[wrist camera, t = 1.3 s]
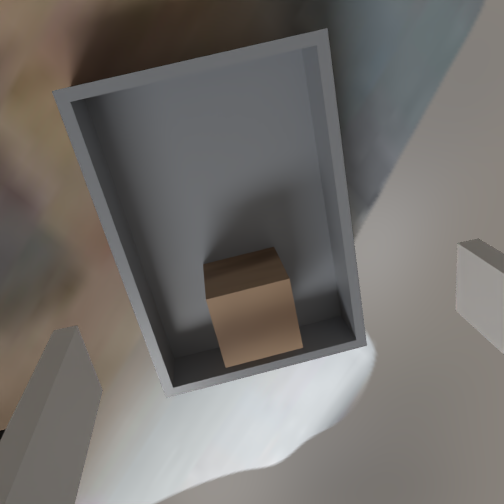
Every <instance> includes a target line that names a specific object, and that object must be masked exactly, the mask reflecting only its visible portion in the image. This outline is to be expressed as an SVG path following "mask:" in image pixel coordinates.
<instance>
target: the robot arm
mask: <svg viewBox="0 0 504 504" xmlns="http://www.w3.org/2000/svg"><path fill="white" fill-rule="evenodd" d="M456 311H457V312H458V313H459V314H460V315H461V316H462V317H463V318H464V319H466V320H467V321H468V322H469V323H470V324H471V325H472V326H473V327H474V328H475V329H476V330H478V331H479V332H480V333H481V334H482V335H483V336H484V337H485V338H486V339H487V340H489V341H490V342H491V343H492V344H493V345H494V346H495V347H496V348H497V349H499V351H501V352H502V353H503V354H504V254H503V253H502V252H500V251H498V250H497V249H495V248H493V247H492V246H490V245H488V244H487V243H485V242H483V241H482V240H480V239H474V240H469V241H466V242H460V243H458V245H457V277H456ZM102 391H103V390H102V387H101V385H100V382H99V379H98V377H97V374H96V372H95V369H94V367H93V364H92V362H91V359H90V357H89V354H88V351H87V349H86V346H85V344H84V341H83V339H82V336H81V334H80V331H79V328H78V326H72V327H67V328H63V329H58V330H54V331H53V333H52V335H51V337H50V339H49V341H48V343H47V345H46V347H45V350H44V352H43V354H42V356H41V358H40V360H39V362H38V364H37V366H36V368H35V370H34V372H33V374H32V376H31V378H30V380H29V382H28V385H27V387H26V389H25V391H24V393H23V395H22V397H21V399H20V401H19V403H18V405H17V407H16V409H15V411H14V413H13V415H12V417H11V419H10V422H9V424H8V426H7V428H6V430H1V431H0V504H75V500H76V496H77V492H78V488H79V484H80V480H81V476H82V472H83V468H84V464H85V460H86V455H87V451H88V447H89V443H90V439H91V435H92V431H93V427H94V423H95V419H96V415H97V411H98V407H99V403H100V399H101V395H102Z"/></svg>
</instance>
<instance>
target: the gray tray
mask: <svg viewBox="0 0 504 504" xmlns="http://www.w3.org/2000/svg"><path fill="white" fill-rule="evenodd" d="M52 93H53V95H54V98H55V101H56V104H57V106H58V109H59V112H60V114H61V117H62V120H63V122H64V125H65V128H66V130H67V133H68V136H69V138H70V141H71V144H72V146H73V149H74V152H75V155H76V157H77V160H78V163H79V165H80V168H81V171H82V173H83V176H84V179H85V181H86V184H87V187H88V189H89V192H90V195H91V197H92V200H93V203H94V206H95V208H96V211H97V214H98V216H99V219H100V222H101V224H102V227H103V230H104V232H105V235H106V238H107V240H108V243H109V246H110V248H111V251H112V254H113V257H114V259H115V262H116V265H117V267H118V270H119V273H120V275H121V278H122V281H123V283H124V286H125V289H126V291H127V294H128V297H129V299H130V302H131V305H132V308H133V310H134V313H135V316H136V318H137V321H138V324H139V326H140V329H141V332H142V334H143V337H144V340H145V342H146V345H147V348H148V350H149V353H150V356H151V359H152V361H153V364H154V367H155V369H156V372H157V375H158V377H159V380H160V383H161V385H162V388H163V391H164V393H165V396H166V398H168V397H172V396H176V395H179V394H183V393H187V392H191V391H195V390H199V389H202V388H206V387H210V386H214V385H218V384H222V383H225V382H229V381H233V380H237V379H241V378H244V377H248V376H252V375H256V374H260V373H264V372H267V371H271V370H275V369H279V368H283V367H287V366H290V365H294V364H298V363H302V362H306V361H310V360H313V359H317V358H321V357H325V356H329V355H333V354H336V353H340V352H344V351H348V350H352V349H355V348H359V347H363V346H367V343H366V335H365V327H364V319H363V311H362V303H361V296H360V287H359V279H358V271H357V262H356V255H355V246H354V238H353V230H352V222H351V214H350V206H349V198H348V190H347V182H346V173H345V165H344V157H343V149H342V141H341V133H340V125H339V117H338V109H337V101H336V93H335V85H334V77H333V69H332V60H331V52H330V44H329V36H328V28H326V29H321V30H317V31H313V32H308V33H304V34H300V35H295V36H291V37H286V38H282V39H278V40H273V41H269V42H265V43H260V44H256V45H251V46H247V47H243V48H238V49H234V50H230V51H225V52H221V53H216V54H212V55H208V56H203V57H199V58H195V59H190V60H186V61H182V62H177V63H173V64H168V65H164V66H160V67H155V68H151V69H147V70H142V71H138V72H133V73H129V74H125V75H120V76H116V77H112V78H107V79H103V80H98V81H94V82H90V83H85V84H81V85H77V86H72V87H68V88H64V89H59V90H55V91H52ZM271 247H274V248H275V250H276V252H277V254H278V256H279V258H280V260H281V262H282V264H283V266H284V268H285V270H286V272H287V274H288V276H289V278H290V283H291V288H292V293H293V299H294V304H295V309H296V314H297V319H298V324H299V329H300V334H301V339H302V344H303V348H300V349H296V350H293V351H289V352H285V353H281V354H277V355H273V356H269V357H266V358H262V359H258V360H254V361H250V362H246V363H243V364H239V365H235V366H231V367H227V368H226V367H225V364H224V360H223V357H222V354H221V350H220V347H219V343H218V340H217V336H216V333H215V329H214V326H213V323H212V319H211V316H210V312H209V309H208V305H207V302H206V295H205V283H204V271H203V264H206V263H210V262H214V261H218V260H222V259H226V258H230V257H234V256H238V255H242V254H246V253H251V252H255V251H259V250H263V249H267V248H271Z"/></svg>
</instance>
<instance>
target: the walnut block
mask: <svg viewBox="0 0 504 504" xmlns="http://www.w3.org/2000/svg"><path fill="white" fill-rule="evenodd" d="M203 271H204V283H205V295H206V302H207V305H208V309H209V312H210V316H211V319H212V323H213V326H214V329H215V333H216V336H217V340H218V343H219V347H220V350H221V354H222V357H223V360H224V364H225V367H226V368H227V367H231V366H235V365H239V364H243V363H246V362H250V361H254V360H258V359H262V358H266V357H269V356H273V355H277V354H281V353H285V352H289V351H293V350H296V349H300V348H303V344H302V339H301V334H300V329H299V324H298V319H297V314H296V309H295V304H294V299H293V293H292V288H291V283H290V278H289V276H288V274H287V272H286V270H285V268H284V266H283V264H282V262H281V260H280V258H279V256H278V254H277V252H276V250H275V248H274V247H271V248H267V249H263V250H259V251H255V252H251V253H246V254H242V255H238V256H234V257H230V258H226V259H222V260H218V261H214V262H210V263H206V264H203Z"/></svg>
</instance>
